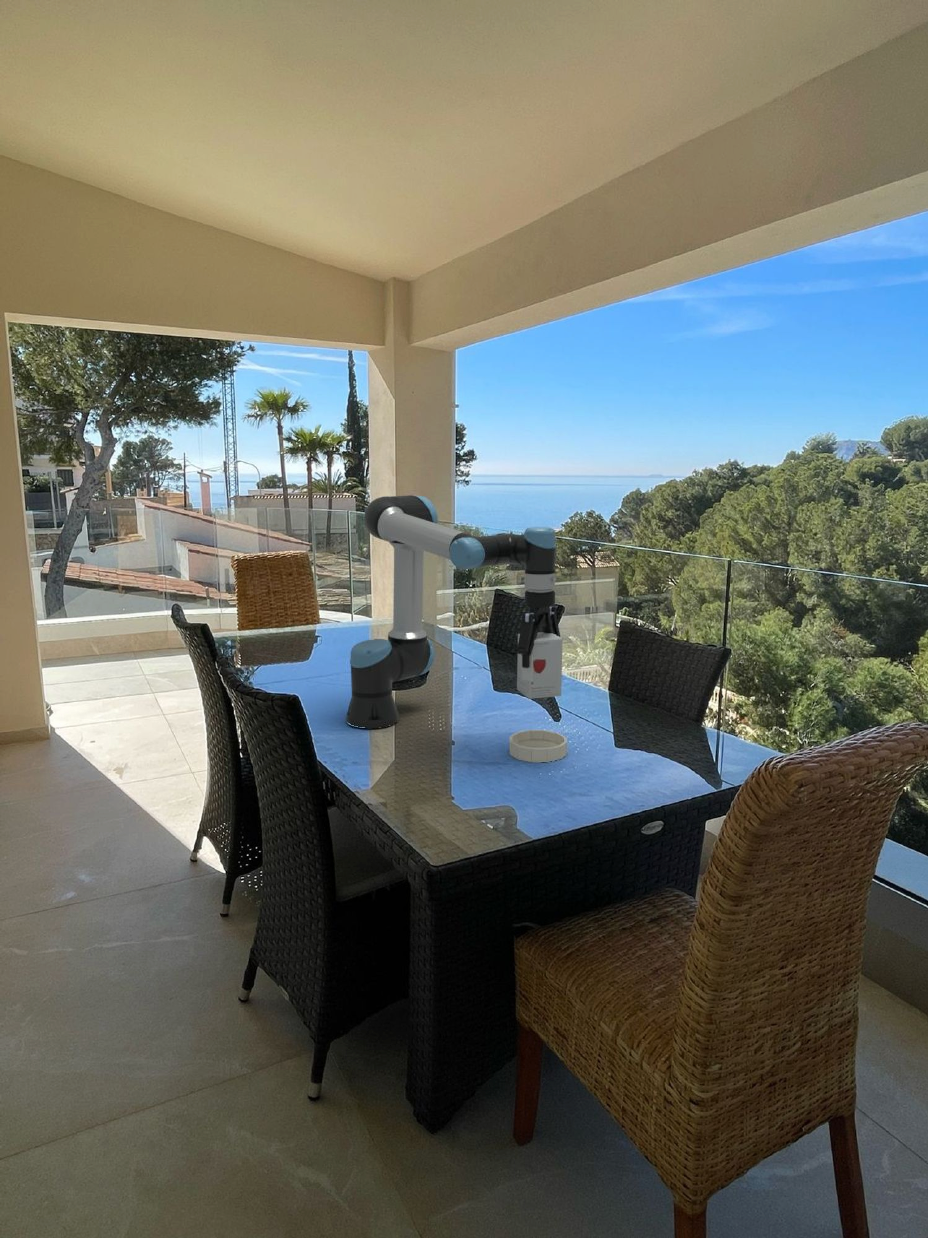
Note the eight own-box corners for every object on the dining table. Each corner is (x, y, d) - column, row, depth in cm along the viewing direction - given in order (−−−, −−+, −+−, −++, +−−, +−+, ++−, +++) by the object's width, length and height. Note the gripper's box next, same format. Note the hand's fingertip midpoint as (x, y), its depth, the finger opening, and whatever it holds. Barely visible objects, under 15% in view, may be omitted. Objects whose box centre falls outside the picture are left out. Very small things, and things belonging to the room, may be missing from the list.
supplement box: (528, 699, 190) (528, 640, 187) (516, 690, 199) (516, 633, 196) (562, 696, 193) (563, 637, 190) (549, 687, 201) (549, 631, 198)
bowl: (499, 755, 197) (499, 742, 196) (526, 739, 209) (526, 726, 208) (550, 766, 189) (551, 753, 188) (575, 748, 201) (575, 736, 200)
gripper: (530, 597, 179) (530, 687, 183) (574, 585, 199) (573, 666, 203) (502, 595, 183) (502, 683, 187) (548, 583, 203) (547, 662, 207)
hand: (539, 674), depth 195 cm, fingers closed on supplement box, 12 cm apart
